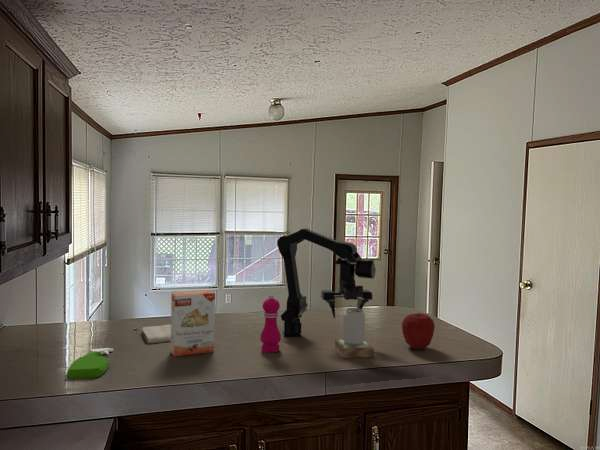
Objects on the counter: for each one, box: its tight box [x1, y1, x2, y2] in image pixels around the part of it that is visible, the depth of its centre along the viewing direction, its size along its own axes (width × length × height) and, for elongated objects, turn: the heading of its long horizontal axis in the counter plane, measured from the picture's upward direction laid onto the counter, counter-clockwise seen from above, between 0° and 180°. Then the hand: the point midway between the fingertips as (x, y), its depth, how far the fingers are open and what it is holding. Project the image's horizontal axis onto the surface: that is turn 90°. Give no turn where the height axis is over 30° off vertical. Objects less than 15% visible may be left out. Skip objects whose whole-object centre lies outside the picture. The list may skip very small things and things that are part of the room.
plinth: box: [334, 338, 374, 359], centre depth 165 cm, size 11×11×3 cm
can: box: [342, 307, 366, 346], centre depth 165 cm, size 8×8×12 cm
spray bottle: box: [66, 347, 114, 380], centre depth 148 cm, size 3×11×24 cm
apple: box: [401, 312, 436, 351], centre depth 172 cm, size 12×12×13 cm
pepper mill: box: [260, 293, 282, 354], centre depth 165 cm, size 7×7×20 cm
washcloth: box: [141, 324, 171, 344], centre depth 181 cm, size 12×18×3 cm, turn 27°
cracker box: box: [170, 289, 216, 357], centre depth 161 cm, size 14×6×21 cm, turn 117°
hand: (346, 317), depth 177 cm, fingers open, 9 cm apart
